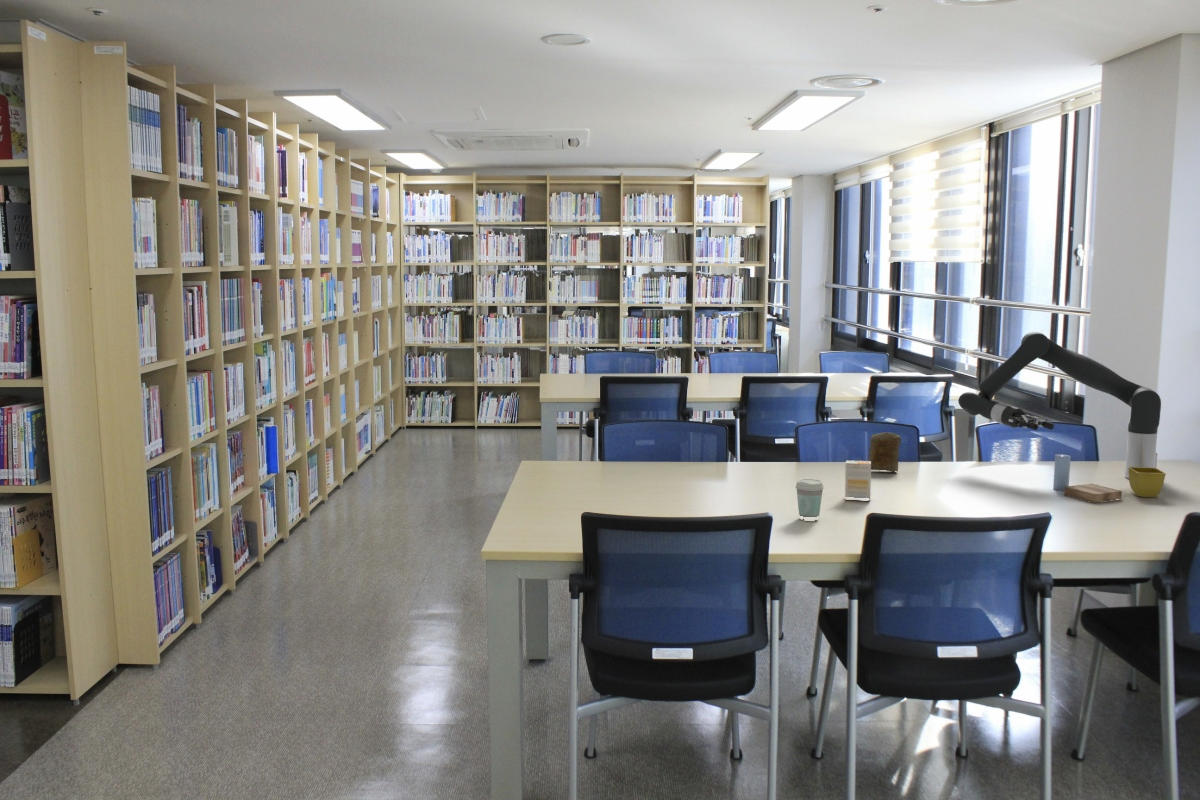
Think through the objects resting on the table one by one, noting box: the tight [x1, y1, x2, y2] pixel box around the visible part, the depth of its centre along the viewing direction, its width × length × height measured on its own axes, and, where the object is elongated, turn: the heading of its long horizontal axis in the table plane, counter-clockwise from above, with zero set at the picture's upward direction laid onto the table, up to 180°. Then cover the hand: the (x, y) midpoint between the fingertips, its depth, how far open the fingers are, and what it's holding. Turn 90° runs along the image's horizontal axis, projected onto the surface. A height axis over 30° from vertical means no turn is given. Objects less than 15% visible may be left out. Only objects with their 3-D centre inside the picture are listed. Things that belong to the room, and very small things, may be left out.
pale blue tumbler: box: [1052, 453, 1071, 492], centre depth 317 cm, size 5×5×12 cm
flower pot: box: [1128, 467, 1166, 498], centre depth 306 cm, size 9×9×9 cm
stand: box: [1063, 483, 1123, 504], centre depth 305 cm, size 12×12×3 cm
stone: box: [868, 431, 902, 473], centre depth 348 cm, size 11×9×15 cm
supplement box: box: [844, 459, 872, 500], centre depth 305 cm, size 8×5×13 cm, turn 71°
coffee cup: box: [795, 478, 825, 517], centre depth 281 cm, size 8×9×12 cm
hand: (1045, 427), depth 322 cm, fingers open, 8 cm apart
